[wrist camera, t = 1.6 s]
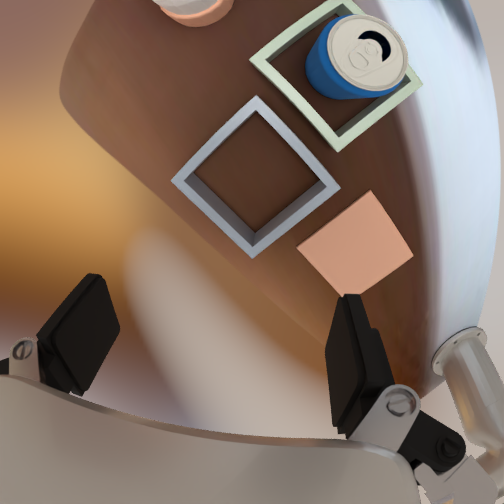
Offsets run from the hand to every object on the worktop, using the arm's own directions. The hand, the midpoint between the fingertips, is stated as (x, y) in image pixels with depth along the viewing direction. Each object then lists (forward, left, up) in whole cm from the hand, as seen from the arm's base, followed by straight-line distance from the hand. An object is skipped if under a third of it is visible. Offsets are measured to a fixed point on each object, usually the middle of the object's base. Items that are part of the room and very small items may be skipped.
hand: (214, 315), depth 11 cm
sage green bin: (+3, -14, -23) cm, 27 cm away
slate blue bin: (0, 0, -23) cm, 22 cm away
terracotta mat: (-15, -3, -23) cm, 27 cm away
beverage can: (+3, -14, -23) cm, 27 cm away
